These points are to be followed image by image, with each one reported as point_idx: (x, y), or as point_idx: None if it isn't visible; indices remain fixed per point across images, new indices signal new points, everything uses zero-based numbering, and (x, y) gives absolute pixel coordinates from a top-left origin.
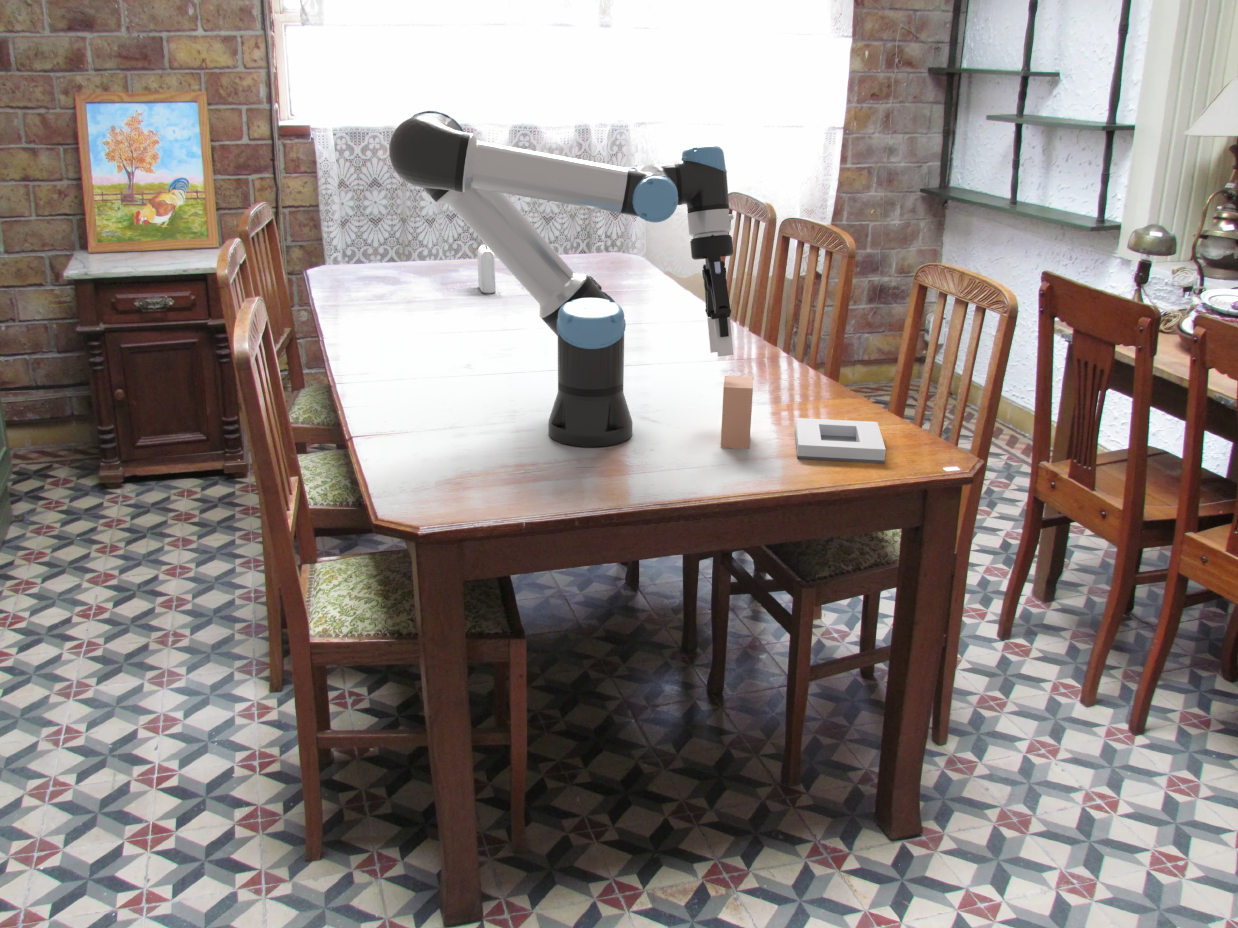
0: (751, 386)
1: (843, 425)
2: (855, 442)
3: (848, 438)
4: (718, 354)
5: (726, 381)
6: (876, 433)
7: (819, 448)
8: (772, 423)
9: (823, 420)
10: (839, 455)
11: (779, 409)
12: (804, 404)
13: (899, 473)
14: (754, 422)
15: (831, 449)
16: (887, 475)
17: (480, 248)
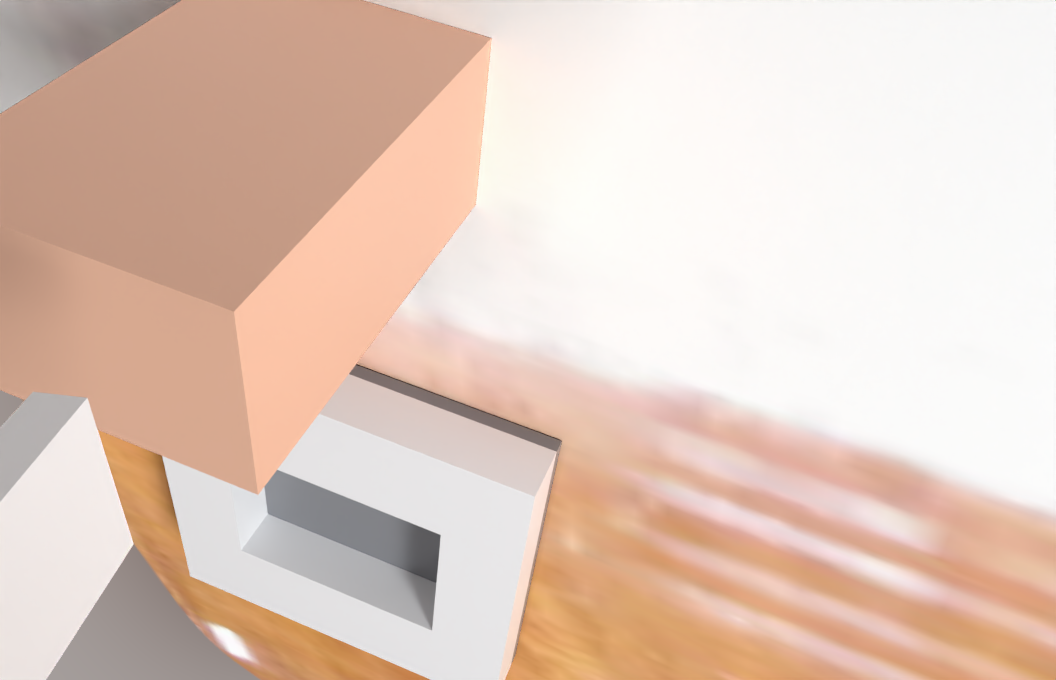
0: (10, 387)
1: (435, 600)
2: (233, 536)
3: (428, 561)
4: (21, 415)
5: (57, 262)
6: (354, 637)
7: None
8: (699, 396)
9: (497, 574)
10: None
11: (978, 532)
12: (1037, 667)
13: (149, 523)
14: (730, 314)
15: None
16: (120, 488)
17: None
